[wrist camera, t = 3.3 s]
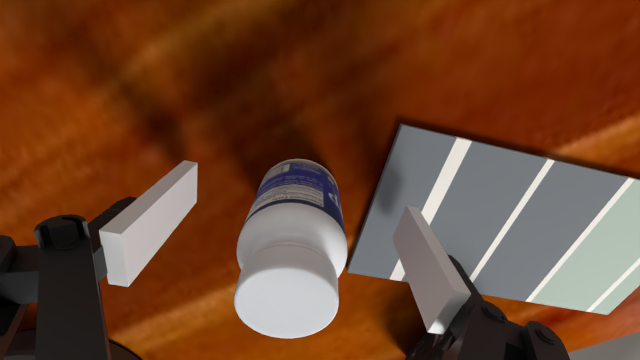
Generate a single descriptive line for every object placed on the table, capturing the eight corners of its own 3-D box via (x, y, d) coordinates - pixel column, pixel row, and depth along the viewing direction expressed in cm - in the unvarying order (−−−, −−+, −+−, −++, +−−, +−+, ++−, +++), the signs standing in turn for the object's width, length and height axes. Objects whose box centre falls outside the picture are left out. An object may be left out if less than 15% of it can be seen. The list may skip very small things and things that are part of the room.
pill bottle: (337, 224, 19) (352, 349, 11) (264, 224, 19) (227, 351, 11) (339, 155, 17) (360, 252, 9) (256, 156, 17) (201, 254, 9)
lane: (346, 268, 21) (347, 272, 21) (400, 123, 16) (402, 125, 15) (603, 310, 24) (607, 314, 23) (721, 198, 18) (729, 201, 18)
